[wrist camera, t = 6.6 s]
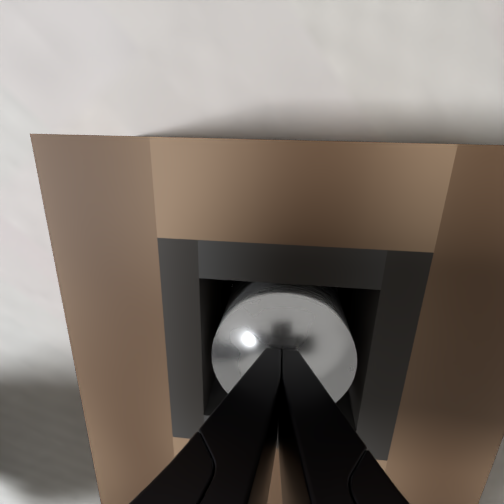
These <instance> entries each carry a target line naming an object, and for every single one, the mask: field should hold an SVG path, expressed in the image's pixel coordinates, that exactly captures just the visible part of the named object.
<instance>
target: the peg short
mask: <svg viewBox="0 0 504 504" xmlns="http://www.w3.org/2000/svg"><path fill="white" fill-rule="evenodd" d="M265 348H279V349H281V351H282V350H283V349H291V350H298V351H299V352H300V354H301V355H302V357H303V358H304V360H305V361H306V362H307V364H308V365H309V367H310V368H311V369H312V371H313V372H314V374H315V375H316V376H317V378H318V379H319V381H320V382H321V383H322V385H323V386H324V388H325V389H326V390H327V392H328V393H329V395H330V396H331V397H332V399H333V400H334V402H335V403H336V402H337V401H338V400H339V399H340V398H341V397H342V396H343V395H344V394H345V393H346V392H347V390H348V389H349V387H350V385H351V384H352V381H353V379H354V377H355V373H356V369H357V352H356V348H355V344H354V341H353V338H352V335H351V332H350V329H349V326H348V323H347V320H346V317H345V314H344V311H343V308H342V305H341V302H340V299H339V296H338V293H337V290H336V287H327V286H312V285H296V284H281V283H265V282H250V281H235V284H234V287H233V289H232V292H231V295H230V297H229V300H228V303H227V305H226V308H225V311H224V313H223V316H222V319H221V322H220V324H219V327H218V330H217V332H216V335H215V338H214V341H213V345H212V355H211V356H212V365H213V369H214V372H215V374H216V377H217V379H218V381H219V382H220V384H221V386H222V387H223V388H224V390H225V391H226V392H227V393H229V392H230V391H231V390H232V388H233V387H234V386H235V385H236V383H237V382H238V381H239V380H240V379H241V377H242V376H243V375H244V374H245V373H246V371H247V370H248V369H249V368H250V367H251V365H252V364H253V363H254V362H255V360H256V359H257V358H258V357H259V356H260V354H261V353H262V352H263V351H264V350H265Z"/></svg>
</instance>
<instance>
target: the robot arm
mask: <svg viewBox="0 0 504 504" xmlns="http://www.w3.org/2000/svg"><path fill="white" fill-rule="evenodd" d="M277 435H278V452H279V464H280V477H281V490H282V503H283V504H410V503H409V502H408V501H407V500H406V498H405V497H404V496H403V495H402V494H401V492H400V491H399V490H398V489H397V487H396V486H395V485H394V483H393V482H392V481H391V479H390V478H389V477H388V475H387V474H386V473H385V471H384V470H383V469H382V467H381V466H380V465H379V463H378V462H377V460H376V459H375V458H374V456H373V455H372V453H371V452H370V451H369V450H367V447H366V445H365V444H364V442H363V441H362V440H361V438H360V437H359V435H358V434H357V433H356V431H355V430H354V428H353V427H352V425H351V424H350V423H349V421H348V420H347V418H346V417H345V416H344V414H343V413H342V411H341V410H340V409H339V407H338V406H337V404H336V403H335V402H334V400H333V399H332V397H331V396H330V395H329V393H328V392H327V390H326V389H325V388H324V386H323V385H322V383H321V382H320V381H319V379H318V378H317V376H316V375H315V374H314V372H313V371H312V369H311V368H310V367H309V365H308V364H307V362H306V361H305V360H304V358H303V357H302V355H301V354H300V352H299V351H298V350H291V349H283V350H282V351H281V349H279V348H265V350H264V351H263V352H262V353H261V354H260V356H259V357H258V358H257V359H256V360H255V362H254V363H253V364H252V365H251V367H250V368H249V369H248V370H247V371H246V373H245V374H244V375H243V376H242V377H241V379H240V380H239V381H238V382H237V383H236V385H235V386H234V387H233V388H232V390H231V391H230V392H229V393H228V394H227V396H226V397H225V398H224V399H223V400H222V402H221V403H220V404H219V405H218V406H217V408H216V409H215V410H214V411H213V413H212V414H211V415H210V416H209V417H208V419H207V420H206V421H205V422H204V423H203V425H202V426H201V427H200V428H199V430H198V432H196V433H195V434H194V435H193V436H192V438H191V439H190V440H189V441H188V443H187V444H186V445H185V446H184V447H183V448H182V450H181V451H180V452H179V453H178V454H177V455H176V456H175V458H174V459H173V460H172V461H171V462H170V463H169V464H168V465H167V466H166V467H165V468H164V469H163V470H162V471H161V472H160V473H159V474H158V475H157V476H156V477H155V478H154V479H153V480H152V481H151V482H150V483H149V484H148V485H147V486H146V487H145V488H144V489H143V490H142V491H141V492H140V493H139V494H138V495H137V496H136V497H135V498H134V499H133V500H132V501H131V502H130V503H129V504H267V502H268V496H269V490H270V483H271V477H272V471H273V465H274V459H275V452H276V445H277Z"/></svg>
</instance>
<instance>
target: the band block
mask: <svg viewBox="0 0 504 504" xmlns="http://www.w3.org/2000/svg"><path fill="white" fill-rule="evenodd" d="M30 137H31V142H32V147H33V152H34V157H35V163H36V168H37V173H38V178H39V183H40V189H41V194H42V199H43V204H44V209H45V214H46V220H47V225H48V230H49V235H50V240H51V246H52V251H53V256H54V261H55V266H56V272H57V277H58V282H59V287H60V292H61V297H62V303H63V308H64V313H65V318H66V323H67V329H68V334H69V339H70V344H71V349H72V355H73V360H74V365H75V370H76V375H77V380H78V386H79V391H80V396H81V401H82V406H83V412H84V417H85V422H86V427H87V432H88V438H89V443H90V448H91V453H92V458H93V463H94V469H95V474H96V479H97V484H98V489H99V495H100V500H101V504H129V503H130V502H131V501H132V500H133V499H134V498H135V497H136V496H137V495H138V494H139V493H140V492H141V491H142V490H143V489H144V488H145V487H146V486H147V485H148V484H149V483H150V482H151V481H152V480H153V479H154V478H155V477H156V476H157V475H158V474H159V473H160V472H161V471H162V470H163V469H164V468H165V467H166V466H167V465H168V464H169V463H170V462H171V461H172V460H173V459H174V458H175V456H176V455H177V454H178V453H179V452H180V451H181V450H182V448H183V447H184V446H185V445H186V444H187V443H188V441H189V440H190V439H191V438H192V436H193V435H194V434H195V433H196V432H198V430H199V428H200V427H201V426H202V425H203V423H204V422H205V421H206V420H207V419H208V417H209V416H210V415H211V414H212V413H213V411H214V410H215V409H216V408H217V406H218V405H219V404H220V403H221V402H222V400H223V399H224V398H225V397H226V396H227V394H228V393H227V392H226V391H225V390H224V388H223V387H222V386H221V384H220V382H219V381H218V379H217V377H216V374H215V372H214V369H213V365H212V356H211V355H212V345H213V341H214V338H215V335H216V332H217V330H218V327H219V324H220V322H221V319H222V316H223V313H224V311H225V308H226V305H227V303H228V300H229V297H230V295H231V292H232V280H234V281H250V282H265V283H281V284H296V285H312V286H327V287H338V296H339V299H340V302H341V305H342V308H343V311H344V314H345V317H346V320H347V323H348V326H349V329H350V332H351V335H352V338H353V341H354V344H355V348H356V352H357V369H356V373H355V377H354V379H353V381H352V384H351V385H350V387H349V389H348V390H347V392H346V393H345V394H344V395H343V396H342V397H341V398H340V399H339V400H338V401H337V402H336V404H337V406H338V407H339V409H340V410H341V411H342V413H343V414H344V416H345V417H346V418H347V420H348V421H349V423H350V424H351V425H352V427H353V428H354V430H355V431H356V433H357V434H358V435H359V437H360V438H361V440H362V441H363V442H364V444H365V445H366V447H367V450H369V451H370V452H371V453H372V455H373V456H374V458H375V459H376V460H377V462H378V463H379V465H380V466H381V467H382V469H383V470H384V471H385V473H386V474H387V475H388V477H389V478H390V479H391V481H392V482H393V483H394V485H395V486H396V487H397V489H398V490H399V491H400V492H401V494H402V495H403V496H404V497H405V498H406V500H407V501H408V502H409V503H410V504H478V503H479V500H480V497H481V495H482V492H483V489H484V487H485V484H486V481H487V479H488V476H489V473H490V471H491V468H492V465H493V462H494V460H495V457H496V454H497V452H498V449H499V446H500V444H501V441H502V438H503V436H504V145H471V144H430V143H389V142H347V141H306V140H265V139H223V138H182V137H141V136H99V135H58V134H30ZM267 504H283V503H282V490H281V477H280V464H279V452H278V435H277V445H276V452H275V459H274V465H273V471H272V477H271V483H270V490H269V496H268V502H267Z"/></svg>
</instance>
